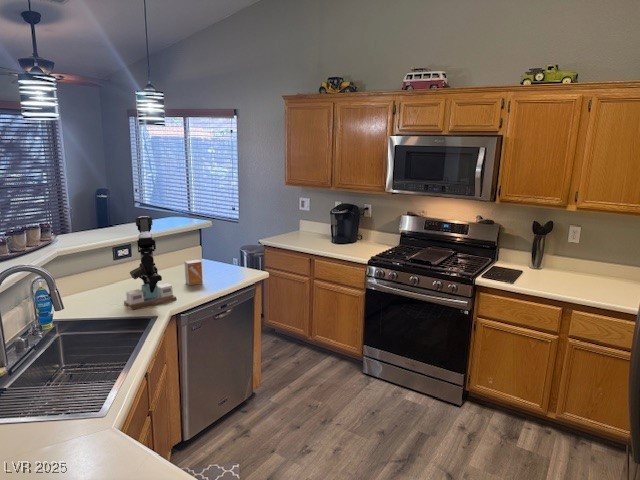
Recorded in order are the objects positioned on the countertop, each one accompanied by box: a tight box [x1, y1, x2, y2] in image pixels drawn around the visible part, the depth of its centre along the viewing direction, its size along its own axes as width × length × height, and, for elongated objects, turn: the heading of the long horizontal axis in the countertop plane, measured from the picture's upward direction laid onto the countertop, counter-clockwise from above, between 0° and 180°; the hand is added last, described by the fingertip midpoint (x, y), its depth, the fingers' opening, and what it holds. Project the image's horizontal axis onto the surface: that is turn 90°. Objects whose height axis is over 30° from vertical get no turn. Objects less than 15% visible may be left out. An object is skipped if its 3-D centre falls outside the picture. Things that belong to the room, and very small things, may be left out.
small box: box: [184, 259, 203, 286], centre depth 254 cm, size 8×6×13 cm
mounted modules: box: [125, 282, 174, 304], centre depth 223 cm, size 6×21×5 cm, turn 133°
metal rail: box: [125, 294, 175, 306], centre depth 224 cm, size 6×22×1 cm, turn 133°
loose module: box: [141, 283, 158, 299], centre depth 223 cm, size 5×6×6 cm
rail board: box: [123, 295, 178, 311], centre depth 224 cm, size 12×22×2 cm, turn 132°
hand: (149, 291), depth 223 cm, fingers closed on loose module, 5 cm apart
